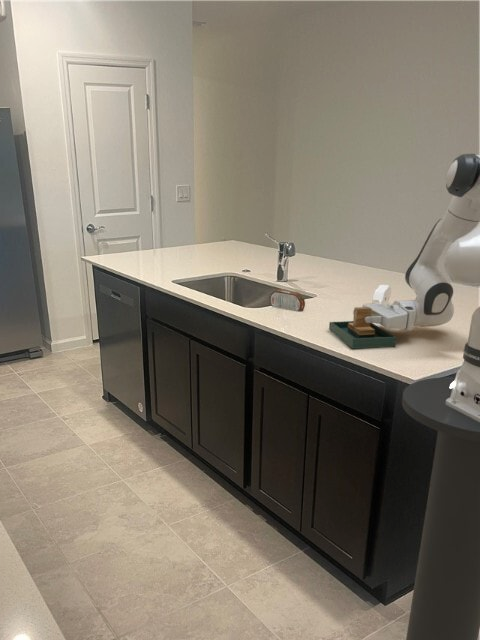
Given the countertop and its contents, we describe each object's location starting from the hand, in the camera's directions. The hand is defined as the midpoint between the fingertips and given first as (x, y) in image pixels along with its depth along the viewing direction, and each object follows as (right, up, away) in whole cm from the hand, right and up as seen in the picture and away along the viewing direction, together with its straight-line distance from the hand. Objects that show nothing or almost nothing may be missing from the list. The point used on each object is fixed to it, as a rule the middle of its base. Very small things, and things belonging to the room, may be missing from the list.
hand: (359, 316), depth 175 cm
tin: (-17, +6, +39) cm, 43 cm away
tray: (+1, -7, +3) cm, 7 cm away
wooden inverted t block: (+1, -6, +2) cm, 6 cm away
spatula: (+13, +3, +26) cm, 29 cm away
